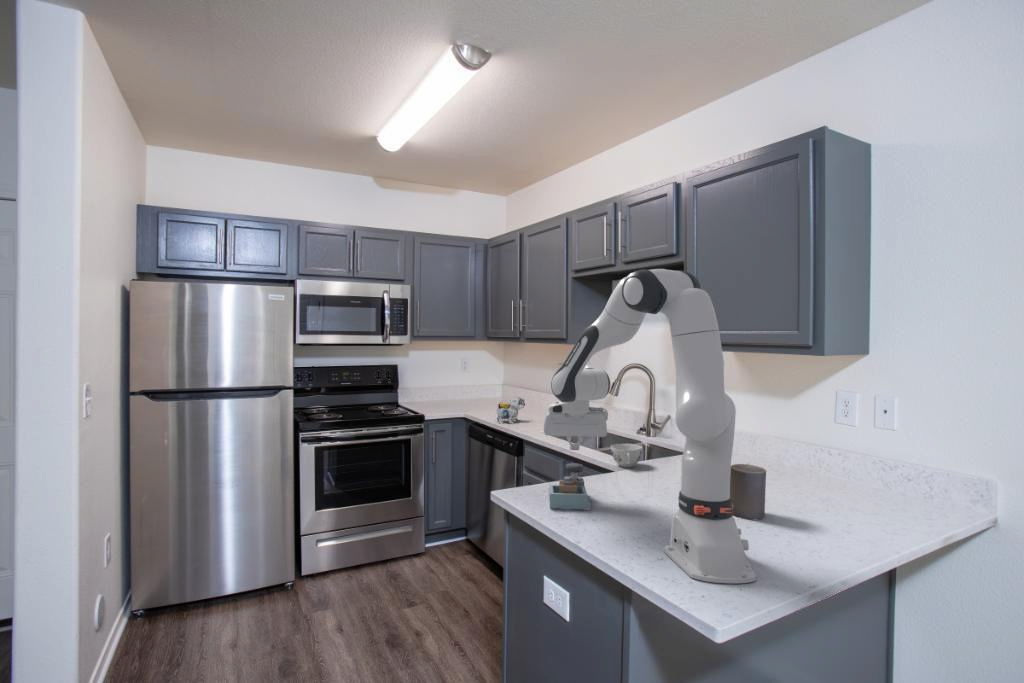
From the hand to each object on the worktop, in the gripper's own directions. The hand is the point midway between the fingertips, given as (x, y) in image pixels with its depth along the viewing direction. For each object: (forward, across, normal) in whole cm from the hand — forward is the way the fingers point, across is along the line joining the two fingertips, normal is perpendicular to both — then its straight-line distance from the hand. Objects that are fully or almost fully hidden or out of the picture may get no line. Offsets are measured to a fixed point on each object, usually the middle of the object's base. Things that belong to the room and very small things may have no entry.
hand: (574, 449), depth 169 cm
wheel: (+10, 0, 0) cm, 10 cm away
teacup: (+15, -24, -41) cm, 50 cm away
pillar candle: (+15, -50, +12) cm, 54 cm away
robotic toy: (+15, +28, -139) cm, 143 cm away
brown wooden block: (+14, +2, +8) cm, 16 cm away
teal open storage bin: (+15, +2, +5) cm, 16 cm away
